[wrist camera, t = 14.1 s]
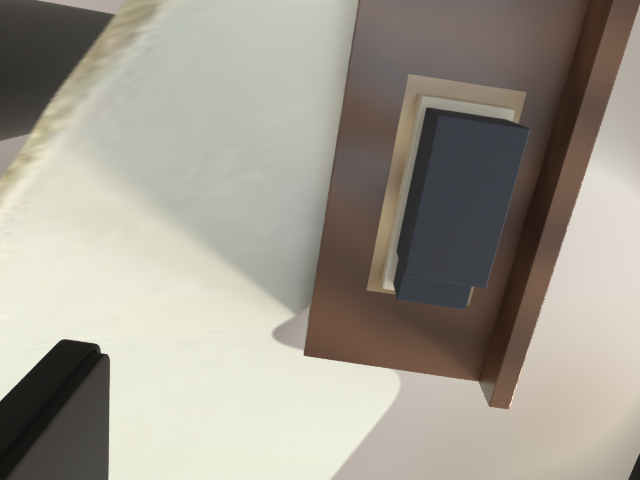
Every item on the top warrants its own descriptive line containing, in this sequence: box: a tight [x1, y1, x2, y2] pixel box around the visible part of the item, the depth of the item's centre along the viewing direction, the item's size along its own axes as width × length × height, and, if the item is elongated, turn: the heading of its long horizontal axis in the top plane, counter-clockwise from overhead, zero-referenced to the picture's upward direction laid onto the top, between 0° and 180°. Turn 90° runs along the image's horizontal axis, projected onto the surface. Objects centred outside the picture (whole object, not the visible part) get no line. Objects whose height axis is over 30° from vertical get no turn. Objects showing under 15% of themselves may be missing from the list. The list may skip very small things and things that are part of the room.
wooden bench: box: [304, 0, 640, 409], centre depth 29 cm, size 22×12×6 cm, turn 172°
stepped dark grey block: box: [381, 94, 530, 310], centre depth 26 cm, size 10×5×5 cm, turn 172°
